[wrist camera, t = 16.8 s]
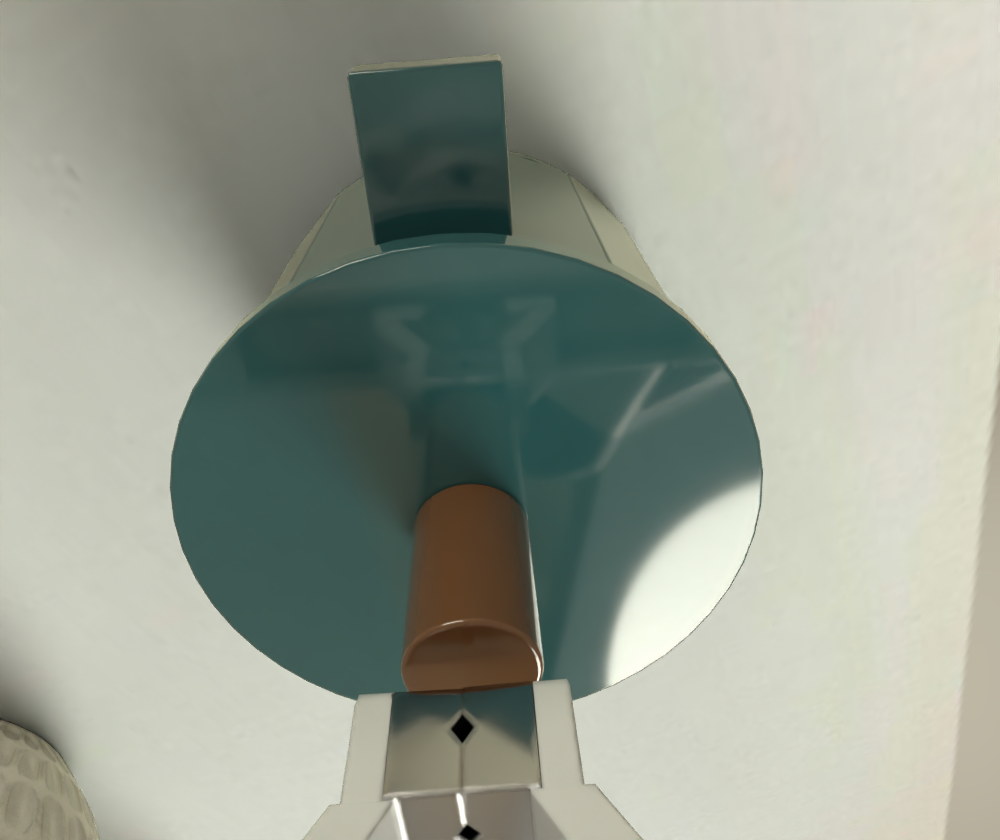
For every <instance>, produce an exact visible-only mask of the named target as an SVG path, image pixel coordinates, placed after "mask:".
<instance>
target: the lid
mask: <svg viewBox="0 0 1000 840" xmlns="http://www.w3.org/2000/svg"><path fill="white" fill-rule="evenodd" d="M762 479H763V468H762V459H761V450H760V441H759V437H758V434H757V430H756V427H755V423H754V420H753V416H752V413H751V409H750V407H749V405H748V403H747V400H746V398H745V396H744V394H743V392H742V390H741V388H740V386H739V384H738V382H737V379H736V377H735V376H734V374H733V373H732V371H731V370H730V368H729V367H728V365H727V364H726V362H725V361H724V359H723V358H722V356H721V355H720V354H719V352H718V351H717V349H716V348H715V346H714V345H713V343H712V342H711V341H710V339H709V338H708V336H707V335H706V334H705V333H704V332H703V331H702V330H701V329H700V328H699V327H698V326H697V325H696V324H695V323H694V322H693V321H692V320H691V319H690V317H689V316H688V315H687V314H686V313H685V312H684V311H683V310H682V309H681V308H679V307H678V306H677V305H675V304H674V303H673V302H672V301H670V300H669V299H668V298H666V297H665V296H664V295H663V294H661V293H660V292H659V291H657V290H656V289H655V288H653V287H652V286H651V285H649V284H648V283H646V282H644V281H642V280H640V279H639V278H637V277H635V276H633V275H632V274H630V273H628V272H626V271H625V270H623V269H621V268H619V267H617V266H616V265H614V264H611V263H609V262H606V261H604V260H601V259H599V258H596V257H594V256H591V255H589V254H586V253H583V252H581V251H578V250H576V249H573V248H569V247H565V246H561V245H557V244H553V243H549V242H545V241H541V240H537V239H533V238H526V237H517V236H508V235H499V234H491V233H450V234H434V235H427V236H420V237H413V238H407V239H400V240H394V241H390V242H387V243H383V244H380V245H376V246H373V247H369V248H365V249H362V250H358V251H355V252H351V253H349V254H347V255H344V256H342V257H340V258H338V259H335V260H333V261H331V262H328V263H326V264H324V265H322V266H319V267H317V268H315V269H312V270H310V271H309V272H307V273H306V274H304V275H302V276H301V277H299V278H297V279H296V280H294V281H293V282H291V283H289V284H288V285H286V286H284V287H283V288H281V289H279V290H278V291H276V292H275V293H274V294H272V295H271V296H270V297H269V298H268V299H267V300H265V301H264V302H263V303H262V304H261V305H259V306H258V307H257V308H256V309H255V310H253V311H252V312H251V313H250V314H249V315H247V316H246V317H245V318H244V319H243V320H242V321H241V323H240V324H239V325H238V326H237V327H236V328H235V329H234V331H233V332H232V333H231V334H230V335H229V336H228V337H227V339H226V340H225V341H224V342H223V343H222V344H221V345H220V347H219V348H218V350H217V351H216V353H215V354H214V356H213V357H212V359H211V361H210V362H209V364H208V365H207V367H206V369H205V370H204V372H203V373H202V375H201V376H200V378H199V380H198V381H197V383H196V384H195V386H194V388H193V389H192V392H191V394H190V396H189V399H188V401H187V404H186V406H185V408H184V411H183V413H182V416H181V418H180V420H179V424H178V428H177V433H176V437H175V441H174V446H173V450H172V455H171V475H170V492H171V501H172V509H173V518H174V522H175V526H176V529H177V533H178V536H179V540H180V543H181V547H182V550H183V552H184V555H185V557H186V559H187V561H188V563H189V565H190V567H191V570H192V572H193V574H194V576H195V578H196V580H197V581H198V583H199V584H200V586H201V587H202V589H203V590H204V592H205V594H206V595H207V597H208V598H209V600H210V601H211V603H212V604H213V605H214V607H215V608H216V609H217V610H218V611H219V612H220V613H221V615H222V616H223V617H224V618H225V619H226V620H227V622H228V623H229V624H230V625H231V626H232V627H233V628H234V629H235V630H236V631H237V632H238V633H239V634H240V635H241V636H243V637H244V638H245V639H246V640H247V641H248V642H249V643H250V644H251V645H253V646H254V647H255V648H256V649H257V650H259V651H260V652H262V653H263V654H264V655H266V656H267V657H269V658H270V659H271V660H273V661H274V662H275V663H277V664H278V665H280V666H281V667H283V668H285V669H286V670H288V671H290V672H292V673H294V674H295V675H297V676H299V677H301V678H302V679H304V680H306V681H308V682H310V683H312V684H314V685H317V686H319V687H321V688H324V689H326V690H328V691H330V692H333V693H335V694H337V695H340V696H343V697H346V698H350V699H353V700H356V701H357V699H358V697H359V695H363V694H378V693H392V692H409V691H428V690H447V689H463V687H471V686H482V685H492V684H503V683H514V682H524V681H531V682H532V683H533V681H545V680H558V679H567V680H568V682H569V684H570V690H571V696H572V701H573V700H576V699H580V698H583V697H586V696H588V695H591V694H593V693H596V692H598V691H601V690H603V689H605V688H608V687H610V686H613V685H615V684H617V683H619V682H621V681H623V680H624V679H626V678H628V677H630V676H632V675H634V674H636V673H638V672H640V671H642V670H643V669H645V668H646V667H648V666H649V665H651V664H652V663H654V662H655V661H657V660H658V659H660V658H661V657H663V656H664V655H666V654H667V653H668V652H670V651H671V650H672V649H673V648H674V647H676V646H677V645H678V644H679V643H680V642H682V641H683V640H684V639H685V638H686V637H688V636H689V635H690V634H691V633H692V632H693V631H694V630H695V629H696V628H697V627H698V626H699V625H700V624H701V623H702V622H703V621H704V620H705V618H706V617H707V616H708V615H709V614H710V613H711V612H712V611H713V609H714V608H715V607H716V605H717V604H718V603H719V601H720V600H721V599H722V597H723V596H724V595H725V593H726V592H727V591H728V589H729V588H730V586H731V584H732V583H733V581H734V579H735V577H736V575H737V574H738V572H739V570H740V568H741V566H742V565H743V563H744V560H745V558H746V555H747V553H748V550H749V547H750V545H751V542H752V539H753V537H754V534H755V530H756V525H757V521H758V516H759V511H760V507H761V498H762Z"/></svg>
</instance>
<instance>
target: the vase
mask: <svg viewBox="0 0 1000 840" xmlns="http://www.w3.org/2000/svg"><path fill="white" fill-rule="evenodd" d="M0 840H100V838H99V835H98V831H97V828H96V824H95V821H94V817H93V814H92V812H91V810H90V807H89V805H88V803H87V801H86V799H85V797H84V795H83V793H82V791H81V789H80V788H79V786H78V784H77V782H76V780H75V778H74V777H73V775H72V773H71V771H70V770H69V768H68V766H67V765H66V763H65V761H64V760H63V758H62V757H61V756H60V754H59V753H58V752H57V751H56V750H55V749H54V748H53V747H52V746H51V745H50V744H48V743H47V742H46V741H44V740H43V739H42V738H40V737H39V736H37V735H35V734H34V733H32V732H30V731H28V730H26V729H24V728H22V727H20V726H17V725H15V724H12V723H9V722H6V721H3V720H0Z"/></svg>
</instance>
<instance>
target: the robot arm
mask: <svg viewBox="0 0 1000 840" xmlns="http://www.w3.org/2000/svg"><path fill="white" fill-rule="evenodd" d="M302 840H643V839H642V838H641V837H640V835H639V834H638V833H637V832H636V831H635V830H634V829H633V827H632V826H631V825H630V824H629V823H628V822H627V820H626V819H625V818H624V817H623V816H622V815H621V813H620V812H619V811H618V810H617V809H616V808H615V807H614V805H613V804H612V803H611V802H610V801H609V800H608V798H607V797H606V796H605V795H604V794H603V793H602V791H601V790H600V789H599V788H598V787H597V786H596V785H595V784H588V785H584V778H583V771H582V764H581V758H580V751H579V744H578V737H577V730H576V724H575V717H574V710H573V703H572V696H571V690H570V684H569V682H568V680H567V679H558V680H545V681H533V683H532V682H531V681H524V682H514V683H503V684H492V685H482V686H471V687H463V689H447V690H428V691H409V692H392V693H378V694H363V695H359V697H358V699H357V702H356V704H355V707H354V714H353V721H352V727H351V734H350V741H349V747H348V754H347V761H346V767H345V774H344V781H343V787H342V794H341V801H340V804H336V805H329V806H328V808H327V809H326V810H325V811H324V813H323V814H322V815H321V816H320V818H319V819H318V820H317V822H316V823H315V824H314V825H313V827H312V828H311V829H310V830H309V832H308V833H307V834H306V835H305V837H304V838H303V839H302Z"/></svg>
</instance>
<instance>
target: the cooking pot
mask: <svg viewBox="0 0 1000 840" xmlns="http://www.w3.org/2000/svg"><path fill="white" fill-rule="evenodd" d="M347 79H348V85H349V92H350V98H351V104H352V110H353V117H354V123H355V129H356V136H357V142H358V148H359V154H360V161H361V167H362V173H363V177H362V178H360V179H359V180H357V181H356V182H354V183H353V184H352V185H351V186H349V187H347V188H345V189H343V190H342V192H341V193H339V194H338V195H337V196H336V197H335V199H334V200H333V201H332V203H331V204H330V205H329V207H328V208H327V209H326V210H325V212H324V213H323V214H322V215H321V216H320V218H319V219H318V221H317V222H316V224H315V225H314V227H313V228H312V229H311V231H310V232H309V233H308V235H307V236H306V237H305V239H304V240H303V241H302V243H301V244H300V245H299V247H298V248H297V250H296V251H295V253H294V255H293V256H292V258H291V260H290V261H289V263H288V265H287V266H286V268H285V270H284V271H283V273H282V275H281V276H280V278H279V280H278V281H277V283H276V285H275V286H274V288H273V290H272V291H271V293H270V295H269V297H270V296H271V295H272V294H274V293H275V292H276V291H278V290H279V289H281V288H283V287H284V286H286V285H288V284H289V283H291V282H293V281H294V280H296V279H297V278H299V277H301V276H302V275H304V274H306V273H307V272H309V271H310V270H312V269H315V268H317V267H319V266H322V265H324V264H326V263H328V262H331V261H333V260H335V259H338V258H340V257H342V256H344V255H347V254H349V253H351V252H355V251H358V250H362V249H365V248H369V247H373V246H376V245H380V244H383V243H387V242H390V241H394V240H400V239H407V238H413V237H420V236H427V235H434V234H450V233H491V234H499V235H508V236H517V237H526V238H533V239H537V240H541V241H545V242H549V243H553V244H557V245H561V246H565V247H569V248H573V249H576V250H578V251H581V252H583V253H586V254H589V255H591V256H594V257H596V258H599V259H601V260H604V261H606V262H609V263H611V264H614V265H616V266H617V267H619V268H621V269H623V270H625V271H626V272H628V273H630V274H632V275H633V276H635V277H637V278H639V279H640V280H642V281H644V282H646V283H648V284H649V285H651V286H652V287H653V288H655V289H656V290H657V291H659V292H660V293H661V294H663V295H664V296H665V297H666V295H665V293H664V292H663V290H662V288H661V287H660V285H659V283H658V282H657V280H656V278H655V277H654V275H653V273H652V272H651V270H650V268H649V267H648V265H647V263H646V262H645V260H644V258H643V257H642V255H641V253H640V252H639V250H638V248H637V247H636V245H635V243H634V242H633V240H632V238H631V237H630V235H629V233H628V232H627V230H626V228H625V227H624V225H623V224H622V222H620V221H619V220H618V219H617V218H616V217H615V216H614V215H613V214H612V213H611V212H610V211H609V210H608V209H607V208H606V207H605V206H604V205H603V204H602V203H601V202H600V201H599V200H598V199H597V197H596V196H595V195H594V194H592V193H591V192H590V191H589V190H587V189H586V188H585V187H584V186H582V185H581V184H580V183H579V182H578V181H576V180H575V179H574V178H573V177H572V176H571V175H570V174H566V173H565V172H563V171H561V170H558V169H557V168H555V167H553V166H551V165H549V164H547V163H544V162H542V161H539V160H537V159H535V158H532V157H530V156H527V155H523V154H519V153H516V152H512V151H508V142H507V126H506V109H505V93H504V77H503V64H502V61H501V59H500V56H499V55H497V54H490V55H477V56H465V57H452V58H440V59H427V60H415V61H402V62H390V63H378V64H365V65H358V66H356V67H354V68H353V69H352V70H351V71H350V72H349V73H348V76H347ZM269 297H268V298H269ZM268 298H267V299H268ZM666 298H667V297H666Z"/></svg>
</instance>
